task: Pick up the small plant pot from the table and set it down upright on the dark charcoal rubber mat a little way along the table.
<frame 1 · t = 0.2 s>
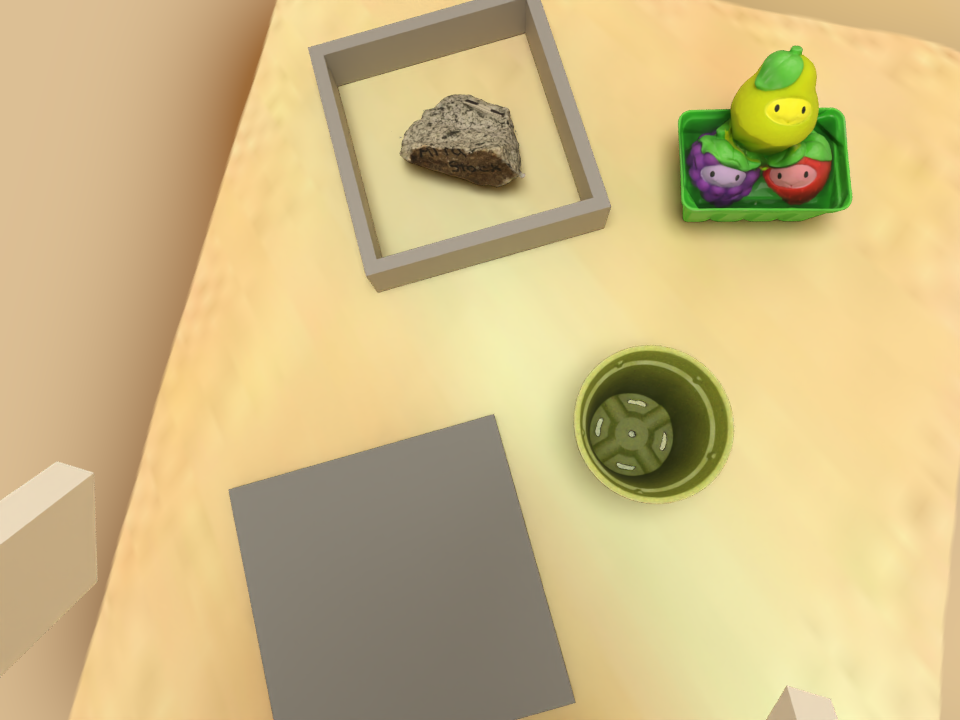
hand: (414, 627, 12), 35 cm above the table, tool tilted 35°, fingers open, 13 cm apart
charcoal mat: (395, 590, 47), on the table
plant pot 2: (628, 434, 48), on the table
rock sample: (460, 150, 53), on the table
fruit basket: (738, 184, 51), on the table
rock display frame: (458, 151, 53), on the table
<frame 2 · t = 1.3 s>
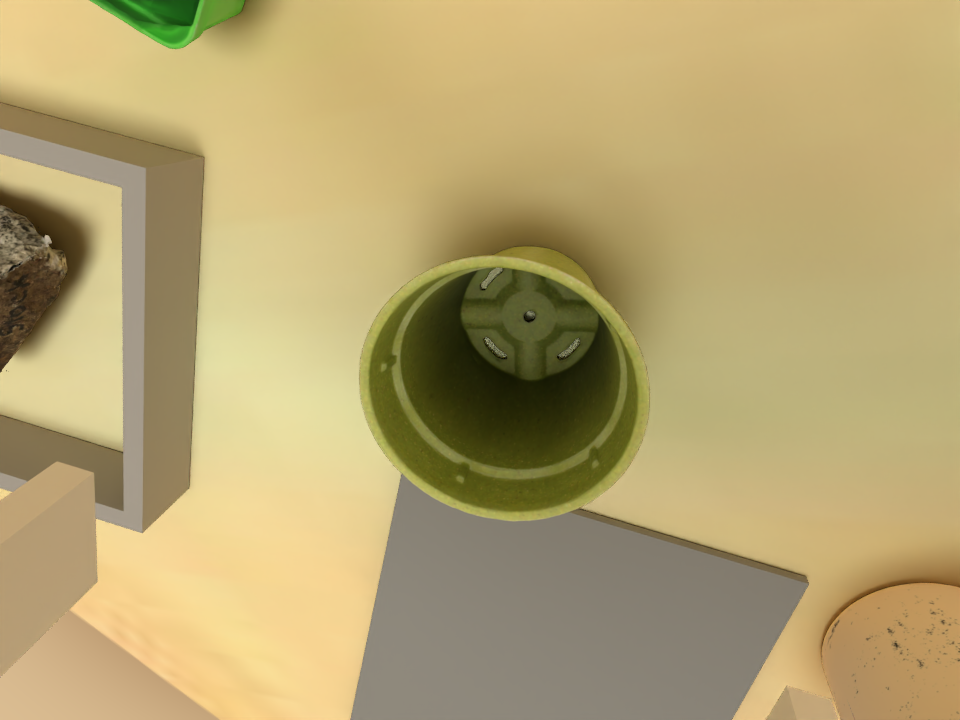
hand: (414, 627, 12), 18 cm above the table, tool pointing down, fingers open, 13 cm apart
charcoal mat: (548, 658, 36), on the table
plant pot 2: (529, 312, 29), on the table
teacup with lid: (942, 632, 32), on the table
rock sample: (13, 271, 34), on the table
rock display frame: (21, 290, 33), on the table
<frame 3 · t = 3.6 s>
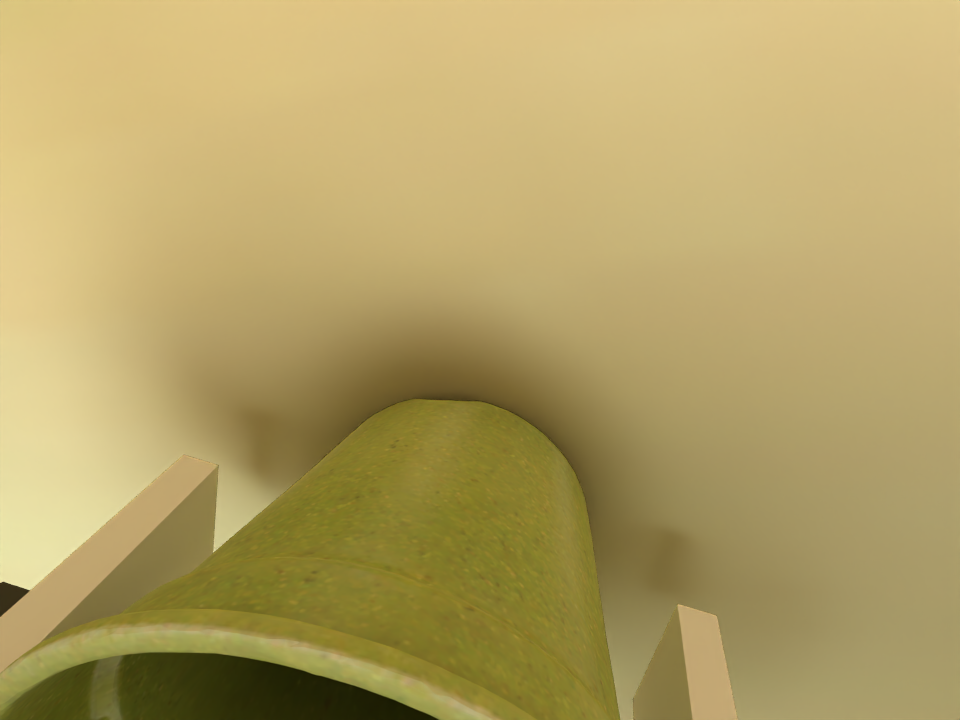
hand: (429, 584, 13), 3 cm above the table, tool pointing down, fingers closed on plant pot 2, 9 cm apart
plant pot 2: (457, 504, 16), on the table, touching gripper
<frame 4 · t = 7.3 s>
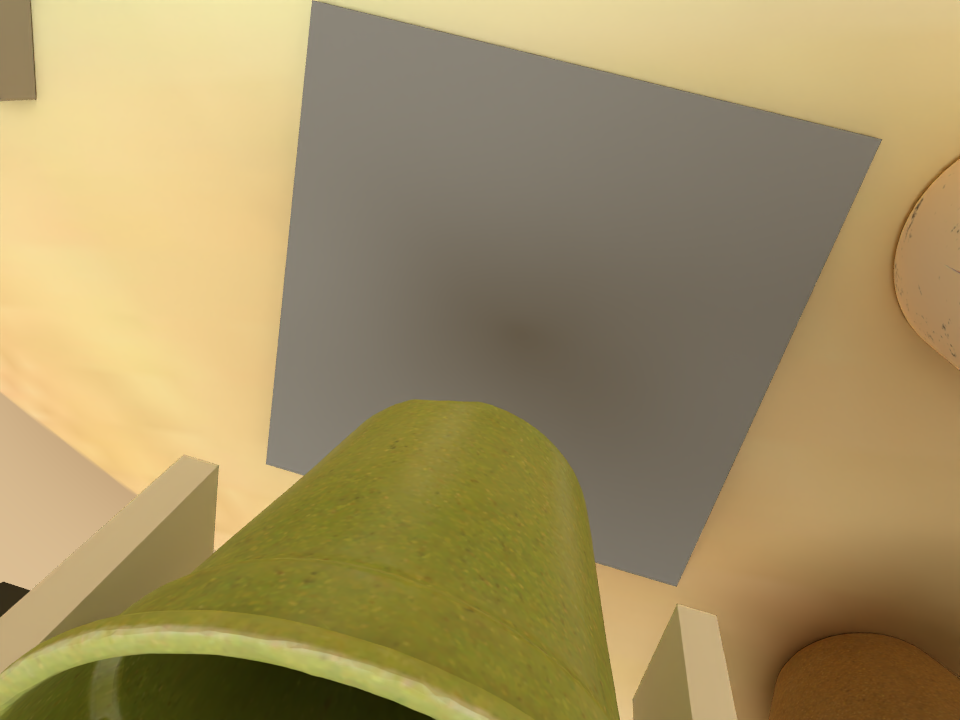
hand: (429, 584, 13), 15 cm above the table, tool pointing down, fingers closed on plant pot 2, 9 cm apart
charcoal mat: (519, 327, 27), on the table
plant pot 2: (457, 504, 16), point 13 cm above the table, touching gripper
plant pot: (860, 684, 32), on the table
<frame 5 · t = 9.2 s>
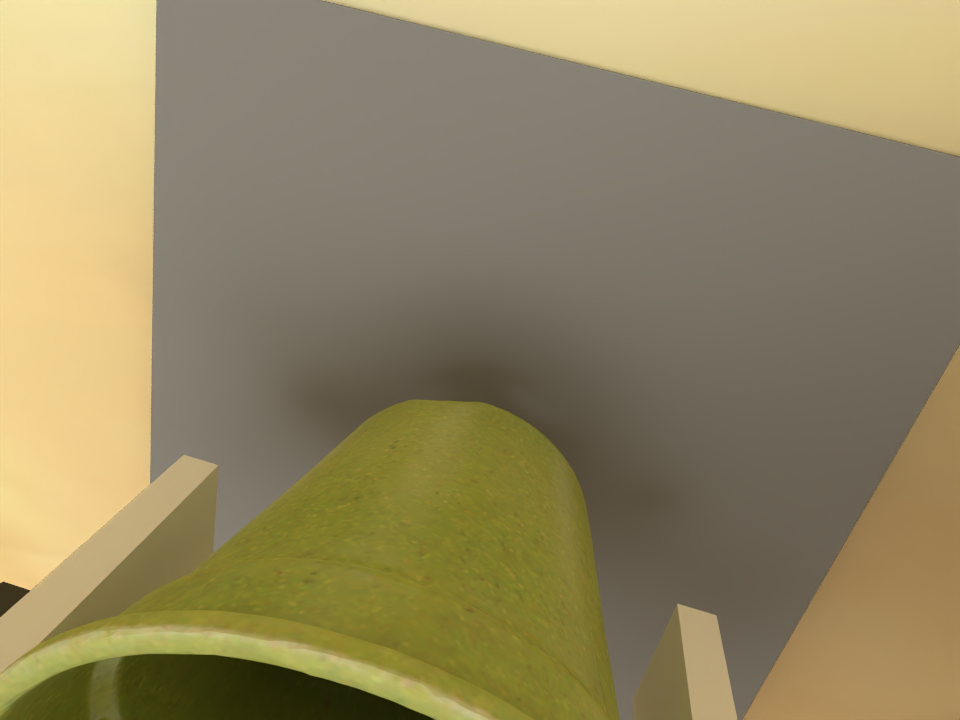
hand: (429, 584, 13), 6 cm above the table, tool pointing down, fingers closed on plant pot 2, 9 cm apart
charcoal mat: (484, 437, 19), on the table
plant pot 2: (457, 504, 16), point 3 cm above the table, touching gripper
when the fingers open (3 cm above the table, at t = 10.9 s): plant pot 2 stays where it is, resting on charcoal mat.
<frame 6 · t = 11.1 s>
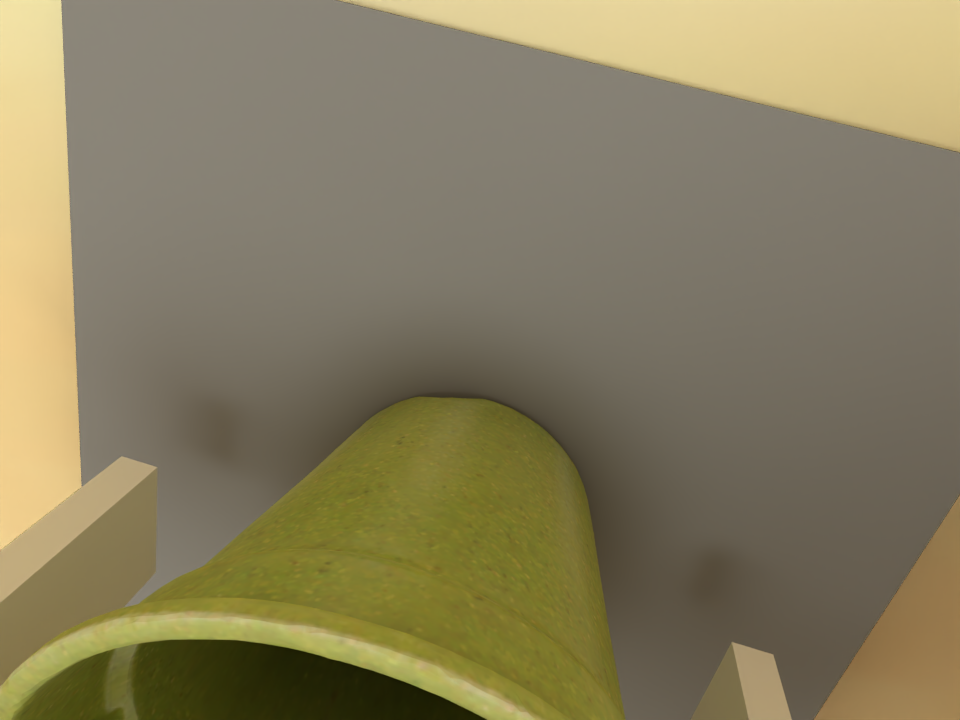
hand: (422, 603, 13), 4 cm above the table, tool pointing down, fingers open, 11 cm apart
charcoal mat: (462, 491, 16), on the table
plant pot 2: (460, 500, 16), resting on charcoal mat
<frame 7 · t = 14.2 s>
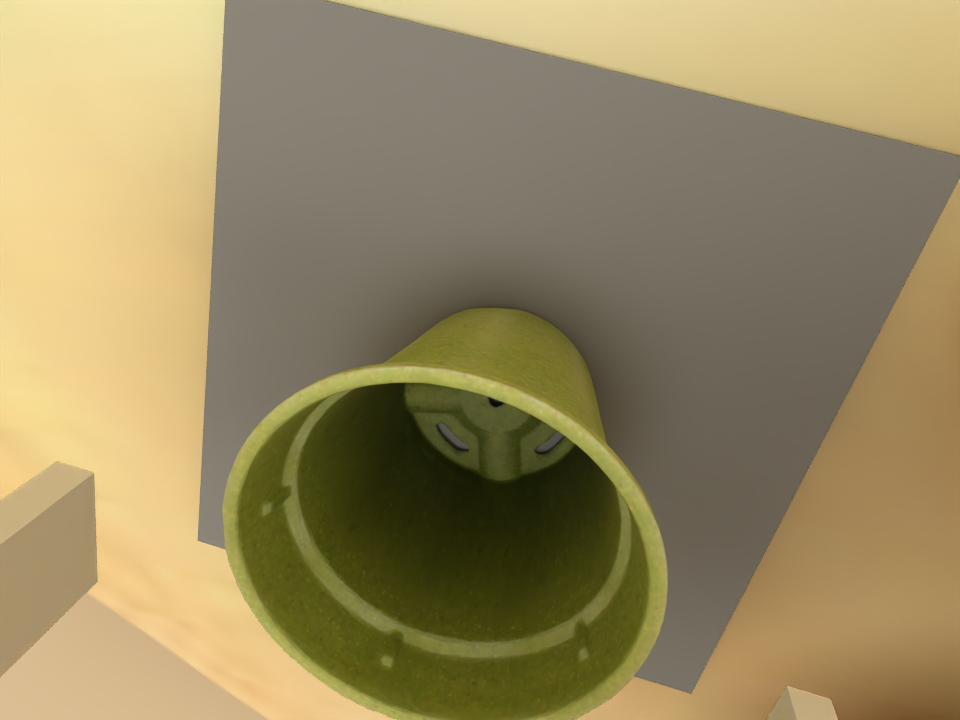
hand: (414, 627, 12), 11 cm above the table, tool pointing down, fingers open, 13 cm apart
charcoal mat: (498, 386, 22), on the table
plant pot 2: (498, 392, 22), resting on charcoal mat
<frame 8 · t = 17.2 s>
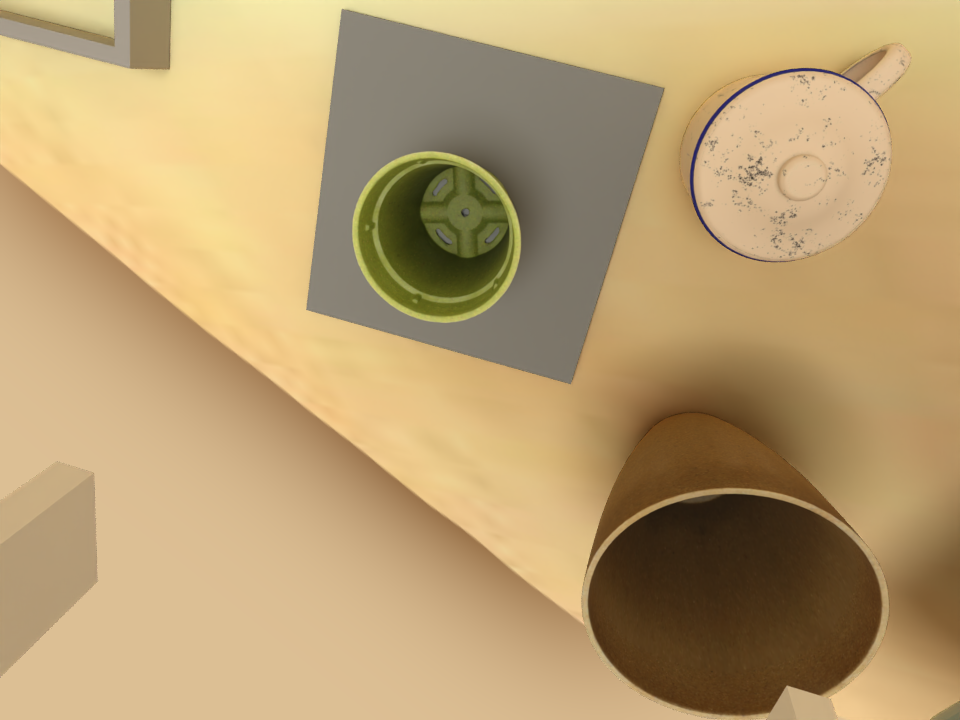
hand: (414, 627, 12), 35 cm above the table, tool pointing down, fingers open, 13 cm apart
charcoal mat: (466, 210, 44), on the table
plant pot 2: (466, 211, 44), resting on charcoal mat
teacup with lid: (772, 134, 39), on the table
plant pot: (692, 452, 48), on the table
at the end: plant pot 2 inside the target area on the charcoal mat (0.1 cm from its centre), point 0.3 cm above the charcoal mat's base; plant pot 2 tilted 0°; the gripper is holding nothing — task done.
